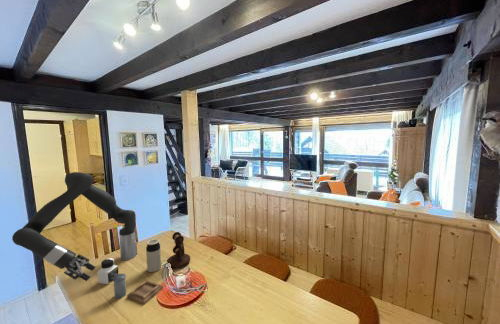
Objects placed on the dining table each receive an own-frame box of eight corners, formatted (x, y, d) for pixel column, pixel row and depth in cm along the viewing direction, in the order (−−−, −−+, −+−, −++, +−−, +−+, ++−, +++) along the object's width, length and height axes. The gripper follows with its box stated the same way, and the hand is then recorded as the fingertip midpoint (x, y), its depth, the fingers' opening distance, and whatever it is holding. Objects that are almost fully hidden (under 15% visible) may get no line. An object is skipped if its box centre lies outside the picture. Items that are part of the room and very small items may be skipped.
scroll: (193, 264, 137) (192, 235, 135) (170, 272, 128) (168, 241, 127) (186, 254, 149) (185, 227, 147) (164, 261, 141) (163, 232, 139)
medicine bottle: (108, 284, 117) (107, 264, 116) (98, 283, 119) (96, 262, 118) (118, 276, 124) (117, 257, 123) (108, 275, 126) (107, 256, 125)
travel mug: (163, 266, 134) (162, 239, 132) (153, 273, 127) (152, 245, 125) (154, 263, 137) (153, 237, 136) (144, 270, 130) (142, 242, 129)
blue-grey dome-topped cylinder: (121, 290, 113) (120, 272, 112) (129, 292, 111) (128, 275, 110) (111, 297, 108) (110, 278, 107) (119, 300, 106) (118, 281, 105)
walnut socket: (146, 283, 118) (146, 278, 118) (163, 288, 114) (162, 283, 114) (127, 297, 107) (127, 292, 107) (144, 304, 103) (144, 299, 103)
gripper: (60, 257, 92) (93, 275, 98) (72, 243, 105) (101, 260, 111) (45, 271, 91) (80, 289, 96) (60, 255, 104) (89, 272, 109)
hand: (91, 273), depth 103 cm, fingers open, 8 cm apart
